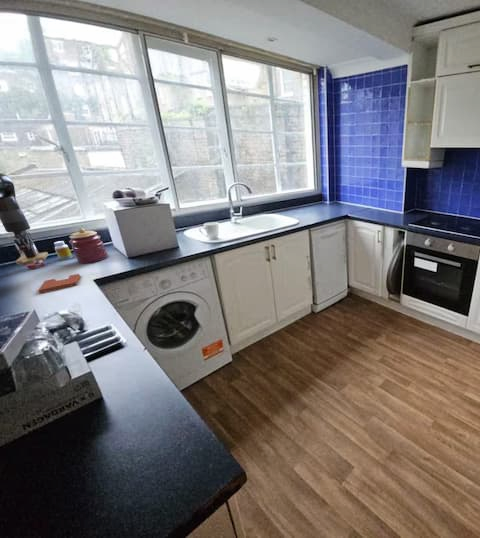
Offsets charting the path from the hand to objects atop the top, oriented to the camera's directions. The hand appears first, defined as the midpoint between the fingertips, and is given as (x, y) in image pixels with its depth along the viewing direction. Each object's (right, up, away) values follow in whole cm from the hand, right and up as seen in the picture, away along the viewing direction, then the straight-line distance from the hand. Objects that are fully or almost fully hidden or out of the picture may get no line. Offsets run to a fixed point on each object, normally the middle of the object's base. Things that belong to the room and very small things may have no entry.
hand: (31, 256), depth 138 cm
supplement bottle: (-12, 0, +28) cm, 31 cm away
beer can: (-17, -5, +17) cm, 25 cm away
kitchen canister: (+6, -1, +25) cm, 26 cm away
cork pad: (+1, -2, -1) cm, 2 cm away
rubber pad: (+18, -13, -4) cm, 23 cm away
